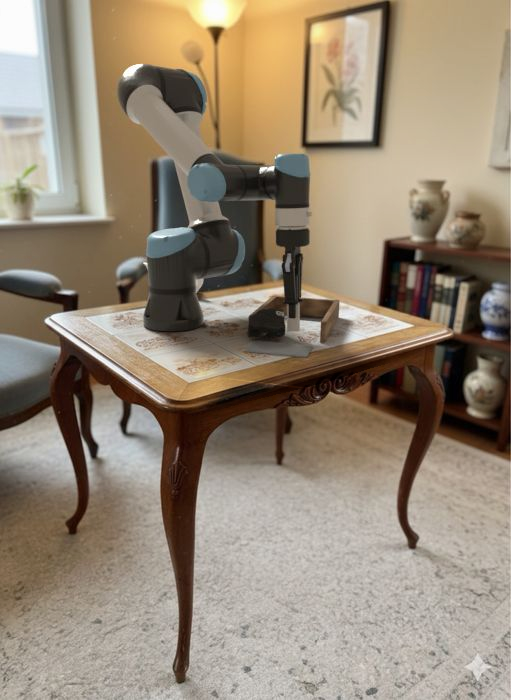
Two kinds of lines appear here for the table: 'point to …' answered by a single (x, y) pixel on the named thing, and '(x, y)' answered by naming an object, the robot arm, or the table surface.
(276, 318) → the rock
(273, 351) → the mat
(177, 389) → the table surface
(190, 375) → the table surface
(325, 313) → the open wooden frame
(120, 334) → the table surface
